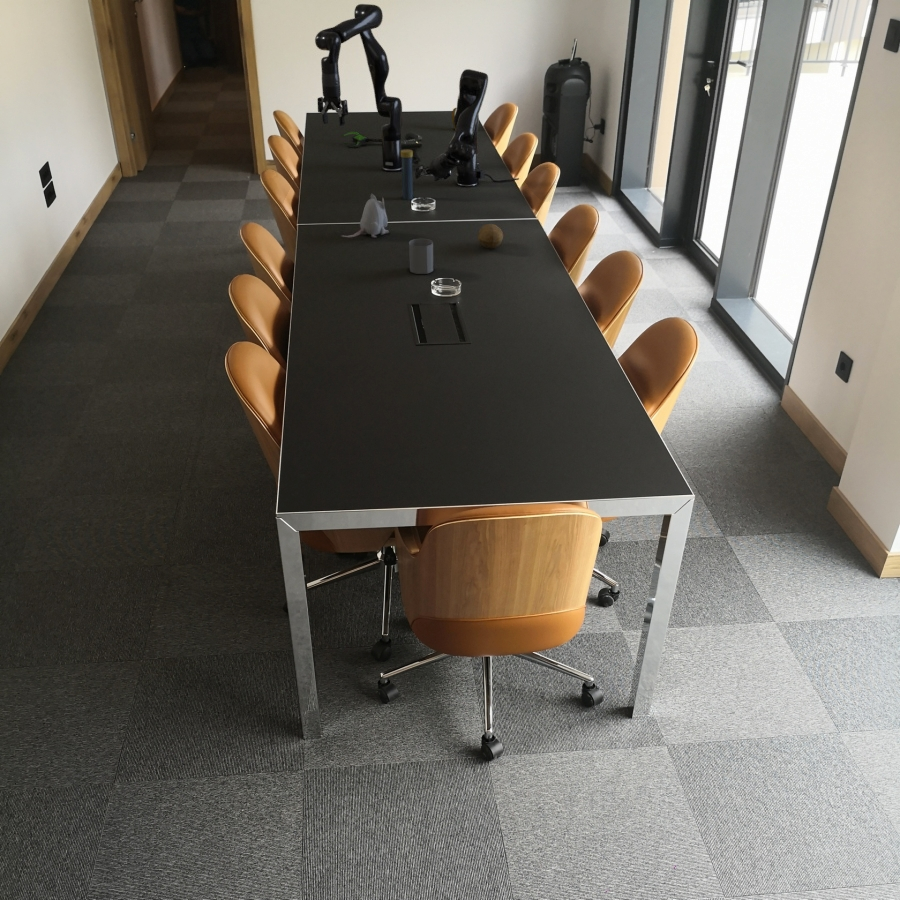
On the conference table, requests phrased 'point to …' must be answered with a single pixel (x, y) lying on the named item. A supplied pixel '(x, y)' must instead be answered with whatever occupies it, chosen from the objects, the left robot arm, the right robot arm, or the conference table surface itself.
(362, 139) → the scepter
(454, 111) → the apple
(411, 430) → the conference table surface
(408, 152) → the lid
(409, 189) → the dark blue cylinder
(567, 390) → the conference table surface
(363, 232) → the toy
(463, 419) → the conference table surface
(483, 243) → the potato
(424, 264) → the cup
